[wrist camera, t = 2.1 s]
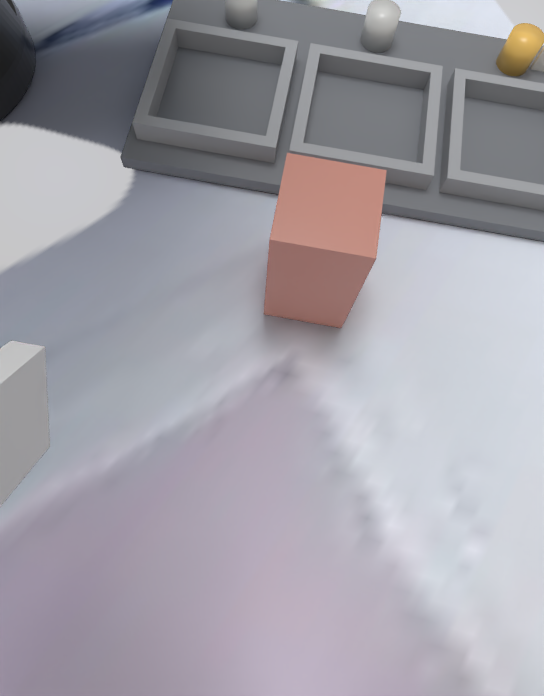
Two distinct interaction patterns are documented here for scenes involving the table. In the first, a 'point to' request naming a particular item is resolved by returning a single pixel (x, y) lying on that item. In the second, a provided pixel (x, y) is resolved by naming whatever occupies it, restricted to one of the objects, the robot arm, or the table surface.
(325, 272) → the salmon pink square prism
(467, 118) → the grey compartment tray
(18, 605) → the table surface
